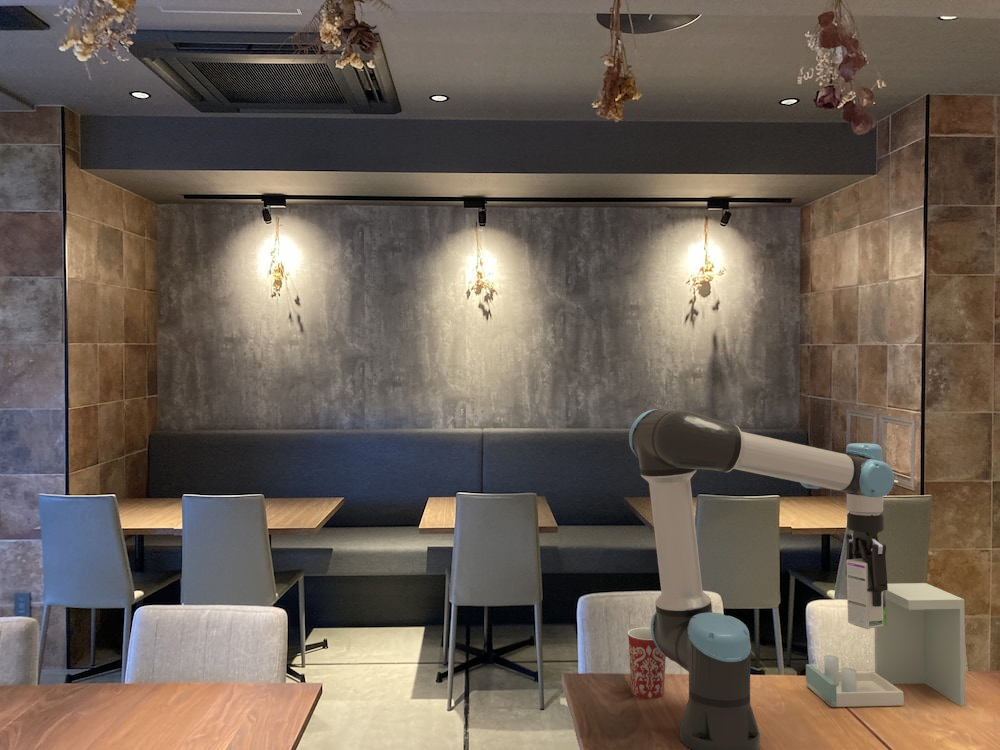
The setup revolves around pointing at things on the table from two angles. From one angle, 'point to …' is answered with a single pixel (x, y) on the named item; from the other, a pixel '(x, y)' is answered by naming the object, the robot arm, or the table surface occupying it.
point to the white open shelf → (923, 639)
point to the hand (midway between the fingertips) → (866, 615)
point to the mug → (645, 664)
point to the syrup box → (860, 595)
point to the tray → (870, 692)
